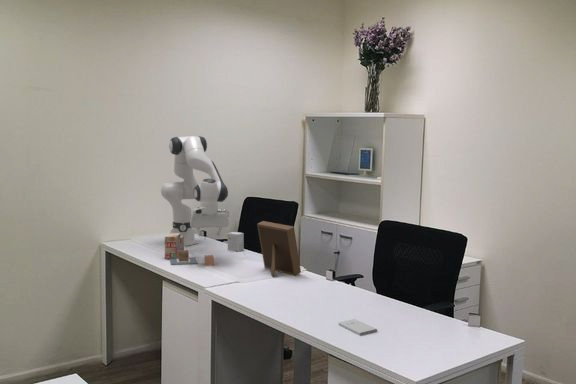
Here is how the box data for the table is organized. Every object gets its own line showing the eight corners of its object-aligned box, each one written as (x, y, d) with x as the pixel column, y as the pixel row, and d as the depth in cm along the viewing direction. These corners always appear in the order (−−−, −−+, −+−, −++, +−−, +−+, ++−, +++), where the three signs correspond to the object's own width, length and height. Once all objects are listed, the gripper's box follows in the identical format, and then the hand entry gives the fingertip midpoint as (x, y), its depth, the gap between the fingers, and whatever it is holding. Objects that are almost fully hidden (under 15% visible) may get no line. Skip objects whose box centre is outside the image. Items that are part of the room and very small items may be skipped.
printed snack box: (173, 251, 326) (173, 230, 325) (184, 251, 326) (184, 230, 325) (164, 258, 305) (164, 236, 304) (176, 258, 304) (176, 236, 303)
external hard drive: (359, 337, 197) (338, 326, 207) (377, 332, 201) (355, 322, 212) (359, 332, 197) (338, 322, 207) (377, 328, 201) (355, 318, 212)
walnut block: (178, 259, 302) (178, 250, 302) (188, 259, 304) (188, 250, 303) (179, 261, 298) (179, 252, 297) (188, 261, 299) (188, 252, 298)
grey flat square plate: (169, 259, 306) (169, 257, 306) (195, 258, 309) (195, 256, 309) (170, 265, 292) (170, 263, 292) (197, 264, 296) (197, 262, 296)
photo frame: (270, 266, 294) (270, 219, 291) (300, 274, 279) (301, 225, 276) (249, 271, 283) (249, 223, 280) (280, 279, 269) (281, 229, 266)
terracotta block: (204, 263, 298) (204, 255, 297) (212, 263, 299) (212, 255, 298) (205, 265, 293) (205, 257, 293) (213, 265, 295) (213, 256, 294)
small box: (243, 250, 332) (244, 233, 331) (238, 252, 327) (238, 234, 326) (233, 248, 336) (233, 231, 335) (227, 250, 331) (227, 232, 330)
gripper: (228, 208, 298) (228, 234, 300) (189, 209, 293) (189, 235, 295) (229, 210, 292) (229, 236, 294) (190, 210, 287) (190, 237, 289)
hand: (209, 235), depth 294 cm, fingers open, 8 cm apart
